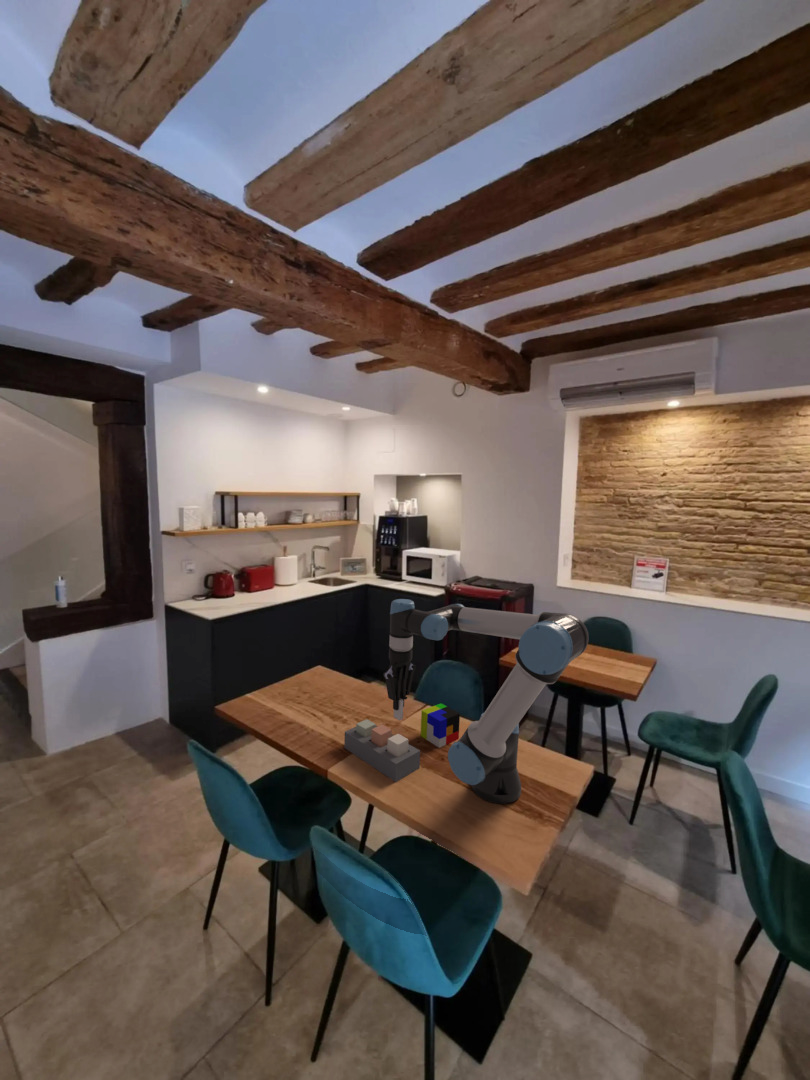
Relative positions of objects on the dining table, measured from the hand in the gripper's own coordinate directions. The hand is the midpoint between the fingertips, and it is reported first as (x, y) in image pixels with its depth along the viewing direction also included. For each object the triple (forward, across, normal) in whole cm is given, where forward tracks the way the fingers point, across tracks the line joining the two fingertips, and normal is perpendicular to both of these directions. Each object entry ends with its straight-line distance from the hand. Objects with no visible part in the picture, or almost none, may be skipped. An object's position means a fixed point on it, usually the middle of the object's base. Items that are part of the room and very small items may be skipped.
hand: (398, 717), depth 147 cm
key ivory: (+15, 0, 0) cm, 15 cm away
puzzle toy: (+17, -25, -3) cm, 31 cm away
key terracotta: (+15, 0, -8) cm, 17 cm away
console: (+17, 0, -8) cm, 19 cm away
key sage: (+16, 0, -16) cm, 22 cm away
